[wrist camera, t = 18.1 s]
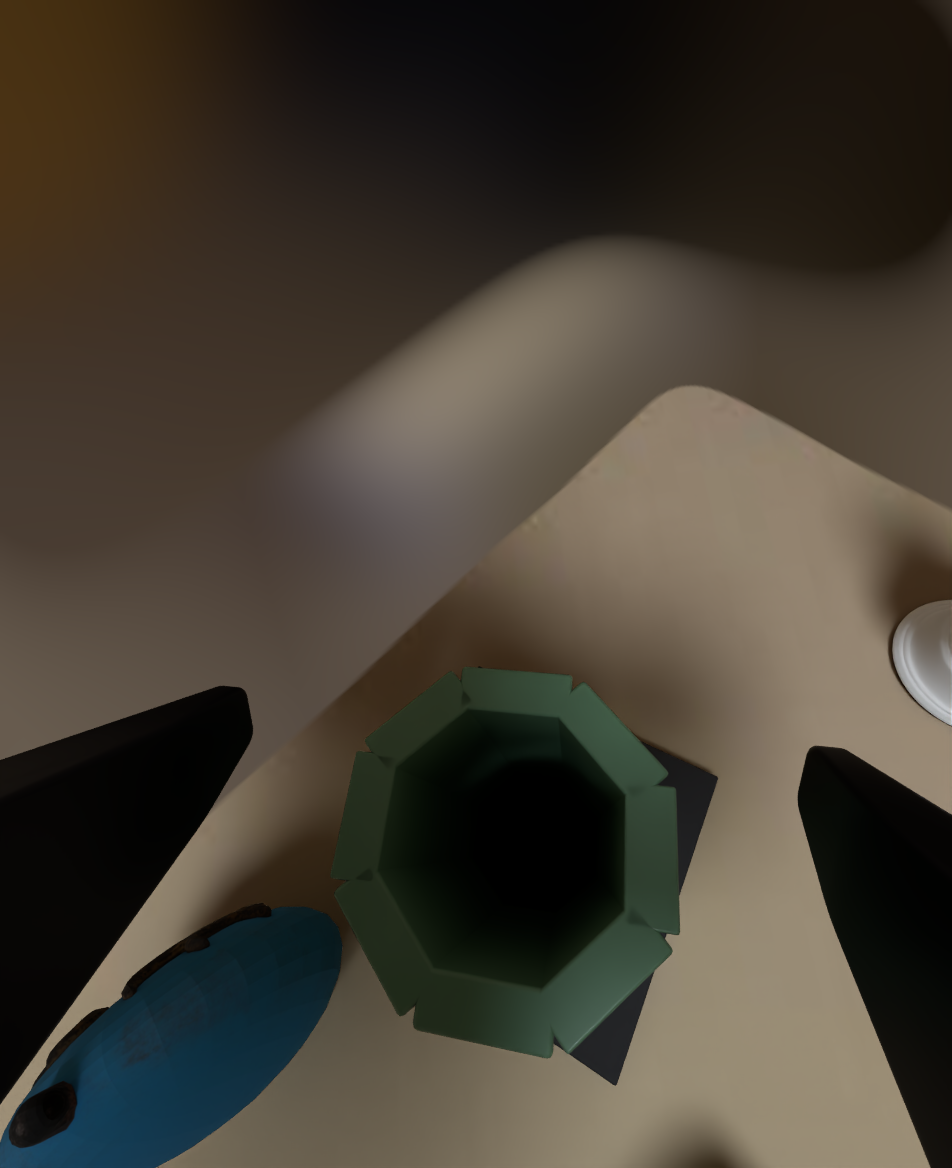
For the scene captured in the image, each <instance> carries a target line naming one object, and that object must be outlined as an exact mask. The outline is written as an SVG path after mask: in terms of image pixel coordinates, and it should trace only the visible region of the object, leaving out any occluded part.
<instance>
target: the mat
mask: <svg viewBox="0 0 952 1168" xmlns="http://www.w3.org/2000/svg"><path fill="white" fill-rule="evenodd" d="M478 668H482V667H480V666H479V667H478ZM640 742H641V741H640ZM641 743H642V744H643V745H644V746H645V747H646V748H647V749H648V750H649V752H650V753H651V754H652V755H653V756H654V757H655V758H656V759H657V760H658V761H659V762H660V763H661V765H662V766H663V767H664V768H665V769H666V770H667V772H668V775H667V777H666V778H665V779H664V780H662V781H661V782H660V783H659V784H658V785H660V786H669V787H674V788H675V789H676V807H677V843H678V878H679V895H680V892H681V889H682V886H683V883H684V880H685V877H686V874H687V871H688V868H689V865H690V862H691V859H692V856H693V853H694V850H695V847H696V844H697V841H698V838H699V834H700V831H701V828H702V825H703V822H704V819H705V816H706V813H707V810H708V807H709V804H710V801H711V798H712V795H713V792H714V789H715V786H716V783H717V780H718V777H717V776H715V775H712V774H710V773H708V772H706V771H704V770H702V769H700V768H697V767H695V766H693V765H691V764H689V763H687V762H684V761H682V760H680V759H678V758H676V757H674V756H672V755H669V754H667V753H665V752H663V751H661V750H659V749H656V748H654V747H652V746H650V745H648V744H646V743H644V742H641ZM596 852H597V819H596V817H595V816H594V815H593V814H592V812H591V811H590V810H589V809H588V808H587V806H586V805H585V804H584V803H583V801H582V800H581V799H580V798H579V797H578V795H577V794H576V793H575V792H574V790H573V789H572V788H571V787H570V786H569V784H568V783H567V782H566V781H565V779H564V778H557V777H548V776H539V775H531V774H522V773H515V774H514V775H513V776H511V777H510V778H509V779H508V780H507V781H506V782H504V783H503V784H502V785H501V786H500V787H499V788H497V789H496V790H495V791H494V792H493V793H492V794H490V795H489V796H488V797H487V798H486V799H485V800H483V801H482V802H481V803H480V804H479V807H478V816H477V825H476V833H475V842H474V851H473V859H474V861H475V862H476V864H477V865H478V867H479V868H480V870H481V871H482V873H483V874H484V876H485V877H486V879H487V880H488V882H489V883H490V885H491V886H492V888H493V889H494V890H495V892H496V893H497V895H498V896H499V898H500V899H501V901H502V902H503V904H505V905H511V906H518V907H524V908H530V909H536V910H542V911H548V912H554V913H557V912H558V911H559V910H560V909H561V908H562V907H563V906H564V905H565V904H566V903H567V902H568V901H570V900H571V899H572V898H573V897H574V896H575V895H576V894H577V893H578V892H579V891H580V890H581V889H583V888H584V887H585V886H586V885H587V884H588V883H589V882H590V881H591V880H592V879H593V878H594V877H596ZM660 934H661V935H662V936H663V937H664V939H665V937H666V934H667V933H661V932H660ZM653 974H654V972H653V973H652V974H651V975H650V976H649V977H647V978H646V979H645V980H644V981H643V982H642V983H641V984H640V985H639V986H638V987H637V988H636V989H635V990H634V991H633V992H632V993H631V994H630V995H629V996H628V997H627V998H626V999H625V1000H624V1001H623V1002H622V1003H621V1004H620V1005H619V1006H618V1007H617V1008H616V1009H615V1010H614V1011H613V1012H612V1013H611V1014H610V1015H609V1016H608V1017H607V1018H606V1019H605V1020H604V1021H603V1022H602V1023H601V1024H600V1025H599V1026H598V1027H597V1028H596V1029H595V1030H594V1031H593V1032H592V1033H591V1034H590V1035H588V1036H587V1037H586V1038H585V1039H584V1040H583V1041H582V1042H581V1043H580V1044H579V1045H578V1046H577V1047H576V1048H575V1049H574V1050H573V1051H572V1052H571V1053H569V1054H570V1055H571V1056H573V1057H574V1058H576V1059H577V1060H578V1061H580V1062H581V1063H583V1064H584V1065H586V1066H587V1067H589V1068H590V1069H591V1070H593V1071H594V1072H596V1073H597V1074H599V1075H600V1076H602V1077H603V1078H604V1079H606V1080H607V1081H609V1082H610V1083H612V1084H613V1085H617V1082H618V1079H619V1076H620V1073H621V1070H622V1067H623V1064H624V1061H625V1058H626V1055H627V1052H628V1049H629V1046H630V1043H631V1040H632V1037H633V1034H634V1031H635V1028H636V1025H637V1022H638V1019H639V1016H640V1013H641V1010H642V1007H643V1004H644V1001H645V998H646V995H647V992H648V989H649V986H650V983H651V980H652V977H653ZM554 1044H555V1045H557V1046H558V1047H560V1048H561V1049H562V1050H564V1049H563V1048H562V1046H561V1045H560V1043H559V1042H558V1040H557V1039H556V1037H555V1036H554Z"/></svg>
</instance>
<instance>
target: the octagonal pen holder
mask: <svg viewBox="0 0 952 1168" xmlns="http://www.w3.org/2000/svg"><path fill="white" fill-rule="evenodd" d="M365 743H366V744H367V746H368V747H369V749H370V750H371V752H363V751H358V752H357V753H356V757H355V761H354V766H353V771H352V775H351V780H350V785H349V790H348V794H347V799H346V804H345V808H344V813H343V818H342V823H341V827H340V832H339V837H338V842H337V846H336V851H335V856H334V860H333V865H332V870H331V875H330V876H331V878H334V879H340V880H346V881H345V882H344V883H343V884H342V885H341V886H340V887H338V888H337V889H336V891H335V892H334V895H335V898H336V900H337V902H338V904H339V906H340V908H341V909H342V911H343V913H344V915H345V917H346V919H347V921H348V923H349V924H350V926H351V928H352V930H353V932H354V934H355V936H356V938H357V939H358V941H359V943H360V945H361V947H362V949H363V951H364V953H365V955H366V956H367V958H368V960H369V962H370V964H371V966H372V968H373V970H374V971H375V973H376V975H377V977H378V979H379V981H380V983H381V985H382V986H383V988H384V990H385V992H386V994H387V996H388V998H389V1000H390V1002H391V1003H392V1005H393V1007H394V1009H395V1011H396V1013H397V1014H398V1015H399V1016H403V1015H405V1014H406V1013H407V1012H408V1011H410V1010H411V1009H412V1008H413V1007H414V1006H415V1012H414V1019H413V1025H414V1028H415V1029H416V1030H418V1031H423V1032H427V1033H432V1034H436V1035H441V1036H446V1037H450V1038H455V1039H459V1040H464V1041H469V1042H473V1043H478V1044H482V1045H487V1046H491V1047H496V1048H501V1049H505V1050H510V1051H514V1052H519V1053H524V1054H528V1055H533V1056H537V1057H542V1058H550V1057H551V1056H552V1053H553V1045H554V1036H555V1037H556V1039H557V1040H558V1042H559V1043H560V1045H561V1046H562V1048H563V1049H564V1051H565V1052H566V1053H567V1054H569V1053H571V1052H572V1051H573V1050H574V1049H575V1048H576V1047H577V1046H578V1045H579V1044H580V1043H581V1042H582V1041H583V1040H584V1039H585V1038H586V1037H587V1036H588V1035H590V1034H591V1033H592V1032H593V1031H594V1030H595V1029H596V1028H597V1027H598V1026H599V1025H600V1024H601V1023H602V1022H603V1021H604V1020H605V1019H606V1018H607V1017H608V1016H609V1015H610V1014H611V1013H612V1012H613V1011H614V1010H615V1009H616V1008H617V1007H618V1006H619V1005H620V1004H621V1003H622V1002H623V1001H624V1000H625V999H626V998H627V997H628V996H629V995H630V994H631V993H632V992H633V991H634V990H635V989H636V988H637V987H638V986H639V985H640V984H641V983H642V982H643V981H644V980H645V979H646V978H647V977H649V976H650V975H651V974H652V973H653V972H654V971H655V970H656V969H657V968H658V967H659V966H660V965H661V964H662V963H663V962H664V961H665V960H666V959H667V958H668V957H669V956H670V955H671V954H672V951H673V950H672V948H671V946H670V945H669V944H668V943H667V941H666V940H665V939H664V937H663V936H662V935H661V934H660V932H661V933H667V934H673V935H679V933H680V914H679V878H678V843H677V807H676V789H675V788H674V787H669V786H660V785H658V784H659V783H660V782H661V781H662V780H664V779H665V778H666V777H667V775H668V772H667V770H666V769H665V768H664V767H663V766H662V765H661V763H660V762H659V761H658V760H657V759H656V758H655V757H654V756H653V755H652V754H651V753H650V752H649V750H648V749H647V748H646V747H645V746H644V745H643V744H642V743H641V742H640V741H639V740H638V739H637V738H636V736H635V735H634V734H633V733H632V732H631V731H630V730H629V729H628V728H627V727H626V726H625V725H624V723H623V722H622V721H621V720H620V719H619V718H618V717H617V716H616V715H615V714H614V713H613V712H612V710H611V709H610V708H609V707H608V706H607V705H606V704H605V703H604V702H603V701H602V700H601V699H600V697H599V696H598V695H597V694H596V693H595V692H594V691H593V690H592V689H591V688H590V687H589V686H588V684H587V683H585V682H582V683H580V684H579V685H578V686H577V687H575V688H574V689H573V690H572V676H570V675H565V674H553V673H540V672H527V671H514V670H502V669H489V668H476V667H464V668H463V670H462V677H461V681H460V680H459V678H458V677H457V676H456V675H455V673H454V672H452V671H450V672H448V673H447V674H446V675H445V676H443V677H442V678H441V679H440V680H438V681H437V682H436V683H435V684H433V685H432V686H431V687H429V688H428V689H427V690H426V691H424V692H423V693H422V694H421V695H419V696H418V697H417V698H416V699H414V700H413V701H412V702H411V703H409V704H408V705H407V706H406V707H404V708H403V709H402V710H401V711H399V712H398V713H397V714H396V715H394V716H393V717H392V718H391V719H389V720H388V721H387V722H386V723H384V724H383V725H382V726H381V727H379V728H378V729H377V730H376V731H374V732H373V733H372V734H371V735H369V736H368V737H367V738H366V739H365ZM515 773H522V774H531V775H539V776H548V777H557V778H564V779H565V781H566V782H567V783H568V784H569V786H570V787H571V788H572V789H573V790H574V792H575V793H576V794H577V795H578V797H579V798H580V799H581V800H582V801H583V803H584V804H585V805H586V806H587V808H588V809H589V810H590V811H591V812H592V814H593V815H594V816H595V817H596V819H597V852H596V877H594V878H593V879H592V880H591V881H590V882H589V883H588V884H587V885H586V886H585V887H584V888H583V889H581V890H580V891H579V892H578V893H577V894H576V895H575V896H574V897H573V898H572V899H571V900H570V901H568V902H567V903H566V904H565V905H564V906H563V907H562V908H561V909H560V910H559V911H558V912H557V913H554V912H548V911H542V910H536V909H530V908H524V907H518V906H511V905H505V904H503V902H502V901H501V899H500V898H499V896H498V895H497V893H496V892H495V890H494V889H493V888H492V886H491V885H490V883H489V882H488V880H487V879H486V877H485V876H484V874H483V873H482V871H481V870H480V868H479V867H478V865H477V864H476V862H475V861H474V859H473V851H474V842H475V833H476V825H477V816H478V807H479V804H480V803H481V802H482V801H483V800H485V799H486V798H487V797H488V796H489V795H490V794H492V793H493V792H494V791H495V790H496V789H497V788H499V787H500V786H501V785H502V784H503V783H504V782H506V781H507V780H508V779H509V778H510V777H511V776H513V775H514V774H515Z"/></svg>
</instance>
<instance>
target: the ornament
mask: <svg viewBox="0 0 952 1168" xmlns="http://www.w3.org/2000/svg"><path fill="white" fill-rule="evenodd" d="M342 947H343V945H342V941H341V937H340V932H339V928H338V926H337V925H336V924H335V923H334V922H333V920H332V919H331V918H330V917H329V916H328V915H327V914H325V913H322V912H320V911H317V910H314V909H312V908H309V907H279V908H275V909H272V910H271V908H270V907H269V906H266V905H265V904H263V903H259V904H254V905H250V906H246V907H243V908H241V909H239V910H238V911H236V912H233V913H231V914H229V915H227V916H225V917H223V918H221V919H219V920H217V921H215V922H213V923H211V924H209V925H207V926H205V927H203V928H201V929H200V930H198V931H196V932H195V933H193V934H191V935H190V936H188V937H187V938H185V939H183V940H182V941H180V942H178V943H177V944H175V945H174V946H172V947H171V948H169V949H168V950H166V951H165V952H163V953H162V954H161V955H159V956H158V957H156V958H155V959H154V960H152V961H151V962H149V963H148V964H147V965H145V966H144V967H143V968H142V969H140V970H139V971H138V972H137V973H136V974H134V975H133V976H132V977H131V978H130V979H129V981H128V982H127V984H126V986H125V987H124V989H123V991H122V993H121V994H122V998H121V999H119V1000H118V1001H117V1002H116V1003H114V1004H113V1005H112V1006H111V1007H110V1008H109V1007H106V1008H101V1009H96V1010H94V1011H92V1012H91V1013H89V1014H88V1015H87V1016H85V1017H84V1018H83V1019H82V1020H81V1021H80V1022H79V1023H78V1024H77V1025H76V1026H75V1027H74V1028H73V1029H72V1030H71V1031H70V1032H68V1033H67V1034H66V1035H65V1036H64V1037H63V1038H62V1039H61V1040H60V1041H59V1042H58V1044H57V1045H56V1046H55V1047H54V1048H53V1049H52V1051H51V1052H50V1054H49V1056H48V1058H47V1061H46V1067H45V1068H44V1069H43V1071H42V1072H41V1073H40V1075H39V1076H38V1078H37V1079H36V1080H35V1082H34V1084H33V1087H32V1089H31V1091H30V1092H29V1093H28V1095H27V1096H26V1097H25V1099H24V1100H23V1101H22V1103H21V1104H20V1105H19V1107H18V1108H17V1110H16V1111H15V1113H14V1115H13V1117H12V1118H11V1120H10V1122H9V1124H8V1126H7V1127H6V1129H5V1131H4V1133H3V1136H2V1139H1V1142H0V1168H156V1167H158V1166H159V1165H161V1164H163V1163H165V1162H167V1161H169V1160H171V1159H173V1158H174V1157H176V1156H178V1155H180V1154H181V1153H183V1152H185V1151H186V1150H188V1149H190V1148H191V1147H193V1146H194V1145H196V1144H197V1143H199V1142H200V1141H201V1140H203V1139H204V1138H206V1137H207V1136H208V1135H210V1134H211V1133H213V1132H214V1131H215V1130H217V1129H218V1128H220V1127H221V1126H222V1125H223V1124H225V1123H226V1122H227V1121H229V1120H230V1119H231V1118H233V1117H234V1116H235V1115H236V1114H238V1113H239V1112H240V1111H241V1110H242V1109H243V1108H245V1107H246V1106H247V1105H248V1104H249V1103H251V1102H252V1101H253V1100H254V1099H255V1098H256V1097H257V1096H258V1095H259V1094H260V1093H261V1092H262V1091H263V1090H264V1089H265V1088H266V1087H267V1086H268V1084H269V1083H270V1082H271V1081H272V1080H273V1079H274V1078H275V1077H276V1076H277V1075H278V1074H279V1073H280V1072H281V1071H282V1070H283V1069H284V1067H285V1066H286V1065H287V1064H288V1063H289V1062H290V1061H291V1059H292V1058H293V1057H294V1056H295V1054H296V1053H297V1052H298V1051H299V1049H300V1048H301V1047H302V1046H303V1044H304V1043H305V1041H306V1040H307V1038H308V1037H309V1035H310V1034H311V1032H312V1031H313V1029H314V1028H315V1026H316V1024H317V1023H318V1021H319V1019H320V1018H321V1016H322V1014H323V1013H324V1011H325V1009H326V1008H327V1005H328V1003H329V1000H330V997H331V995H332V992H333V989H334V987H335V984H336V981H337V979H338V975H339V971H340V965H341V956H342Z"/></svg>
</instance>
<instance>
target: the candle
mask: <svg viewBox="0 0 952 1168" xmlns="http://www.w3.org/2000/svg"><path fill="white" fill-rule="evenodd" d="M892 653H893V660H894V664H895V667H896V670H897V673H898V675H899V677H900V679H901V681H902V683H903V684H904V686H905V687H906V689H907V690H908V691H909V693H910V694H911V695H912V696H913V698H914V699H915V700H916V701H917V702H918V703H919V704H920V705H921V706H922V707H924V708H925V709H926V710H927V711H928V712H930V713H931V714H932V715H934V716H935V717H937V718H938V719H940V720H942V721H943V722H945V723H947V724H949V725H951V726H952V600H943V601H936V602H932V603H928V604H925V605H923V606H920V607H918V608H917V609H915V610H913V611H912V612H910V613H909V614H908V615H907V616H906V617H905V618H904V619H903V620H902V621H901V623H900V624H899V626H898V628H897V630H896V632H895V635H894V638H893V645H892Z"/></svg>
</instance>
